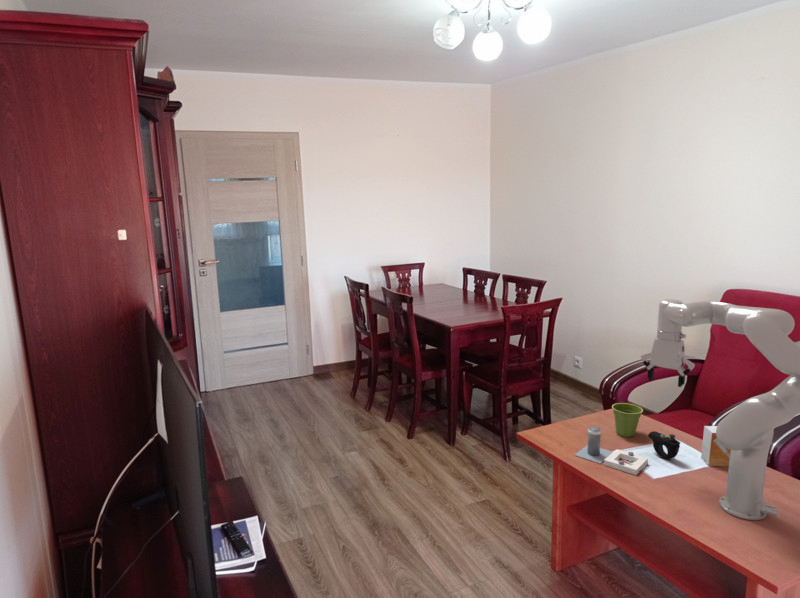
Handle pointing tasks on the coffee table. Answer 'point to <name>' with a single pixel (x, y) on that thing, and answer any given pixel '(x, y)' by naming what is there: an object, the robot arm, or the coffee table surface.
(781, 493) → the coffee table surface
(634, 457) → the frame
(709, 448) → the small box
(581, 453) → the mat
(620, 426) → the plant pot
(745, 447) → the robot arm
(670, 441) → the controller
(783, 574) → the coffee table surface
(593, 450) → the cartridge
